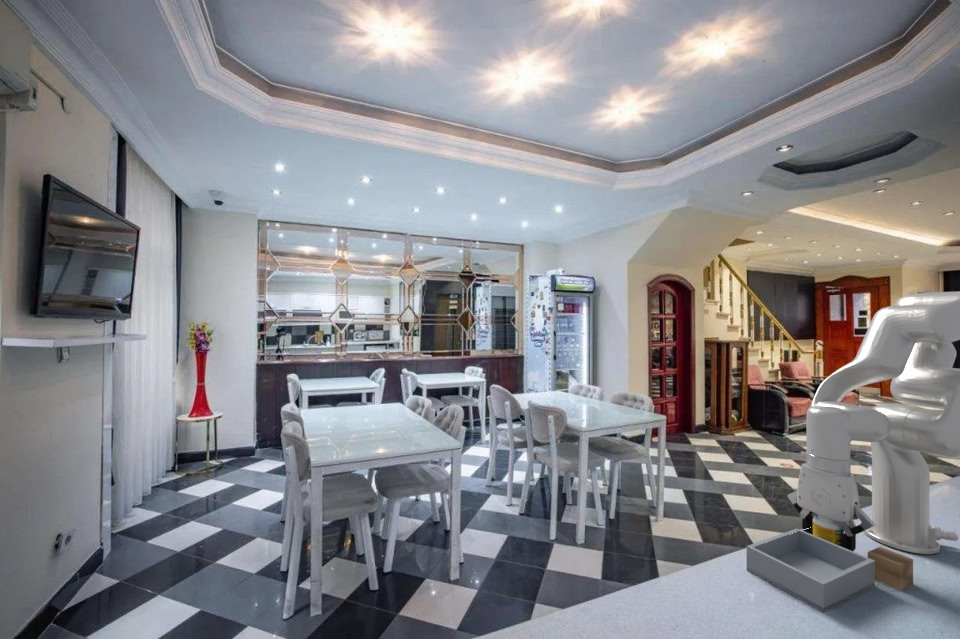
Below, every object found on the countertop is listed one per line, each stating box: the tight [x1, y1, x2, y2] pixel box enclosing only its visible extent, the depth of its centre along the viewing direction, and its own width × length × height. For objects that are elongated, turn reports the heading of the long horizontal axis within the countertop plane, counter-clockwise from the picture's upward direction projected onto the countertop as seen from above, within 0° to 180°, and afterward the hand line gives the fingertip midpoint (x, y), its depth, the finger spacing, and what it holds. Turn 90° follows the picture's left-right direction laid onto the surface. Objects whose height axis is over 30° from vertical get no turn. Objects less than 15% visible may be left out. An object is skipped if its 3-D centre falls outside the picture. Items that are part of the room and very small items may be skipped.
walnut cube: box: [867, 546, 914, 592], centre depth 82 cm, size 5×5×5 cm
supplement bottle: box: [812, 514, 845, 547], centre depth 92 cm, size 5×5×10 cm
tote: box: [746, 528, 876, 614], centre depth 83 cm, size 18×14×5 cm
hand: (827, 542), depth 92 cm, fingers open, 6 cm apart
